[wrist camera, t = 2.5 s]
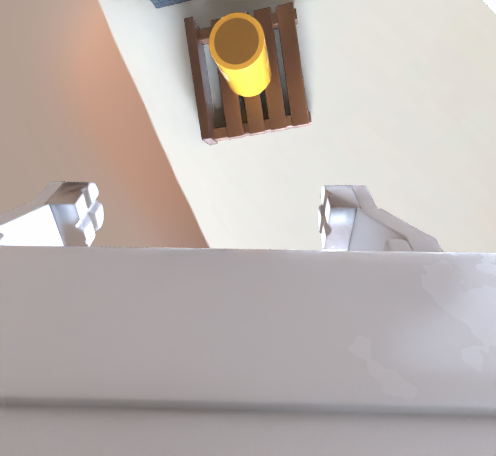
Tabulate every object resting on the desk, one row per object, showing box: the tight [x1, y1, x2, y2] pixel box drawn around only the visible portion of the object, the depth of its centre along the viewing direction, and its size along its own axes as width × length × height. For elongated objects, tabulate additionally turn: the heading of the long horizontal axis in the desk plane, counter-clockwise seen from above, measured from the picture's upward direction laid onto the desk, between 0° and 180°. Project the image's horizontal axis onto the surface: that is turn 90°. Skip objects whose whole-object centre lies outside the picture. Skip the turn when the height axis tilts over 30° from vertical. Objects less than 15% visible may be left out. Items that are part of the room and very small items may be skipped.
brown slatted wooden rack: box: [184, 2, 311, 145], centre depth 41 cm, size 12×13×4 cm
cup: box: [209, 12, 271, 97], centre depth 37 cm, size 5×5×8 cm
